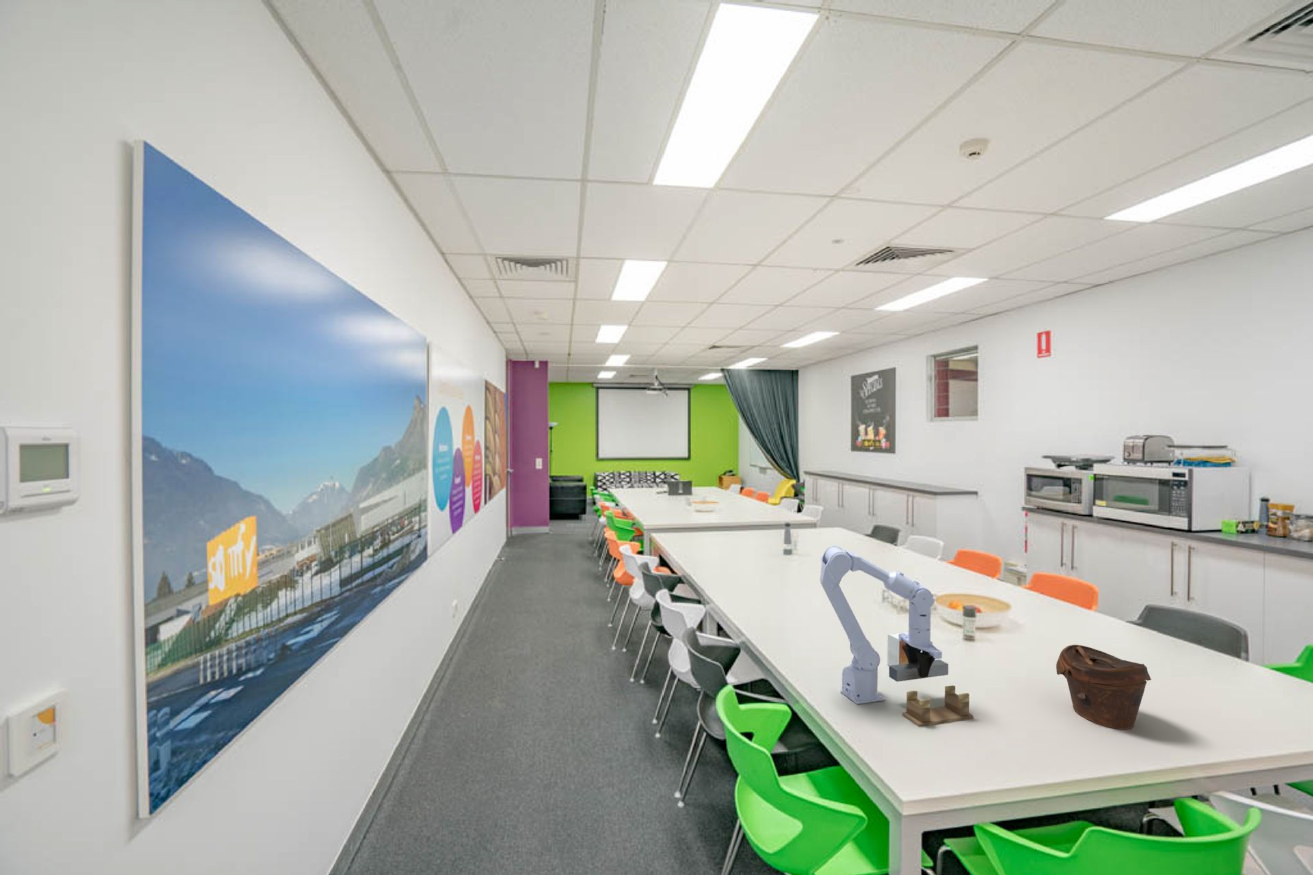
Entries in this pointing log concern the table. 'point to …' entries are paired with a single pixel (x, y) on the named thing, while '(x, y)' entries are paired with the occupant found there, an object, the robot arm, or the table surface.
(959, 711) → the rack
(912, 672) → the rail
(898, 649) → the small box
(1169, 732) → the table surface
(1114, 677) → the case
